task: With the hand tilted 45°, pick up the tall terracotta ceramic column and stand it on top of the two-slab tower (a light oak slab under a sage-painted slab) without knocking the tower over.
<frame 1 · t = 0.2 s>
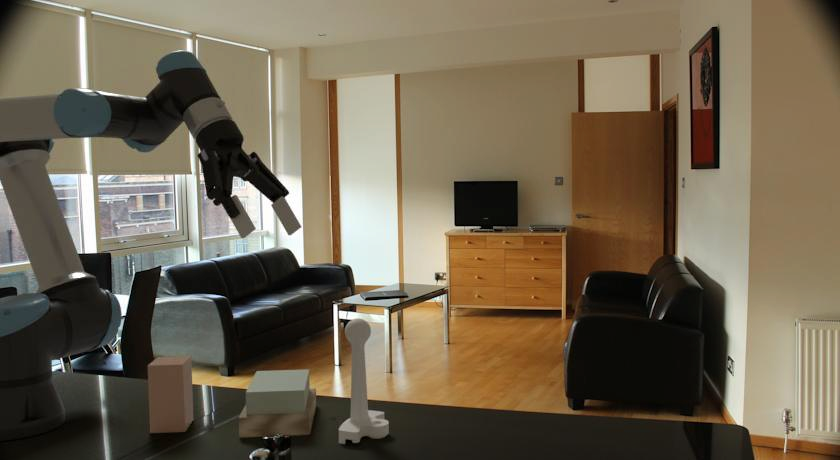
hand: (273, 232, 118), 35 cm above the table, tool tilted 35°, fingers open, 13 cm apart
tower top: (279, 401, 128), point 3 cm above the table
joystick: (367, 435, 121), on the table
tower base: (280, 423, 128), on the table
terracotta column: (172, 426, 126), on the table
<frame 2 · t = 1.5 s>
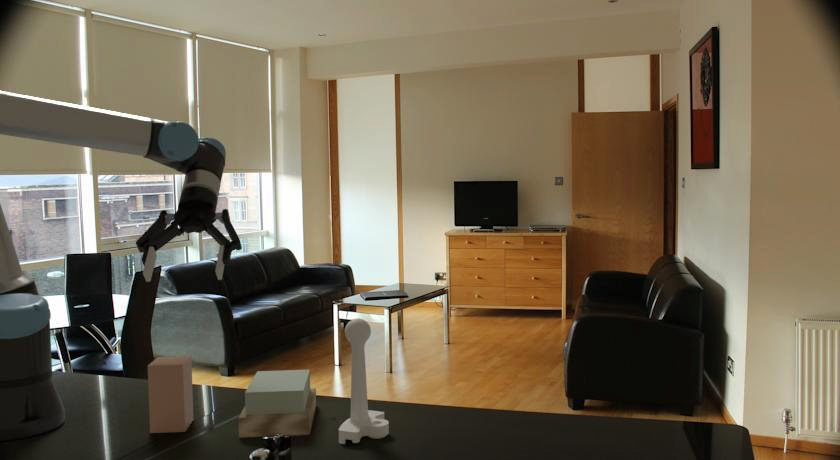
hand: (182, 276, 134), 26 cm above the table, tool tilted 45°, fingers open, 13 cm apart
tower top: (279, 401, 128), point 3 cm above the table, touching tower base
tower base: (280, 423, 128), on the table, touching tower top
everything else where it was.
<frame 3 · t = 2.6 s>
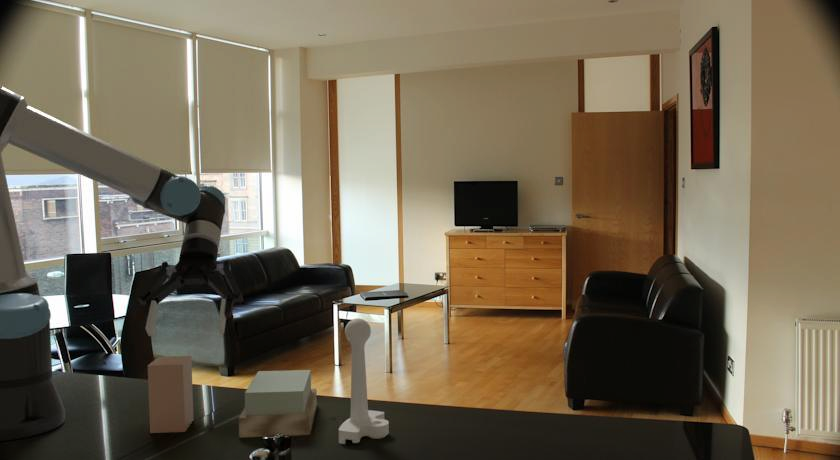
hand: (185, 331, 135), 15 cm above the table, tool tilted 45°, fingers open, 13 cm apart
nothing on the table moved.
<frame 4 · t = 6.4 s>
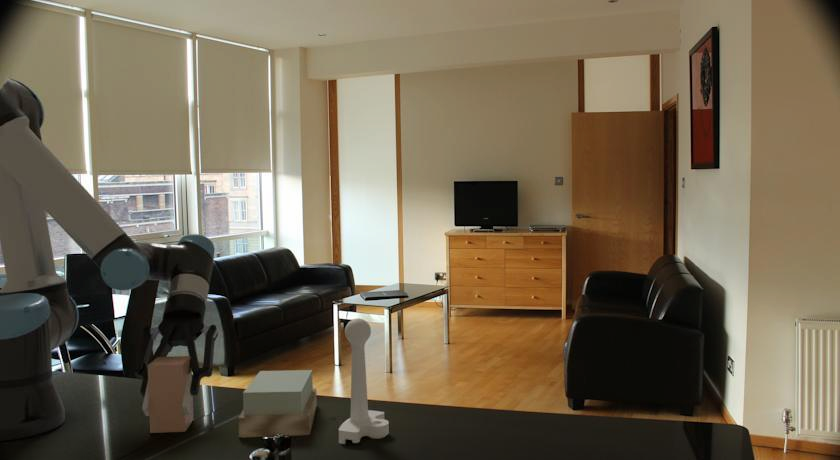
hand: (165, 411, 122), 4 cm above the table, tool tilted 45°, fingers closed on terracotta column, 6 cm apart
terracotta column: (172, 426, 126), on the table, touching gripper
everything else where it was.
when the fingers open (13 cm above the table, at t = 11.9 s): terracotta column drops 2 cm, point 7 cm above the table.
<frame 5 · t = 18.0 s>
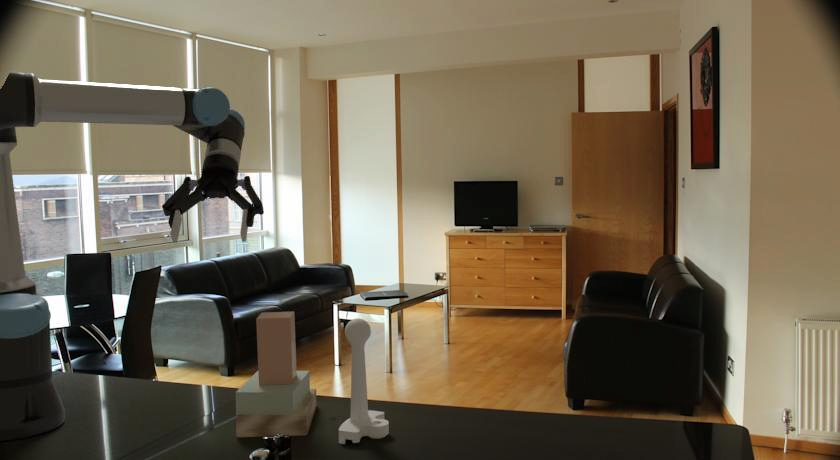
hand: (208, 238, 140), 33 cm above the table, tool tilted 45°, fingers open, 13 cm apart
terracotta column: (278, 379, 128), point 7 cm above the table
at the end: terracotta column inside the target area on the tower top (0.8 cm from its centre), point 4.0 cm above the tower top's base; terracotta column tilted 1°; tower base moved 0.7 cm from its start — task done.
